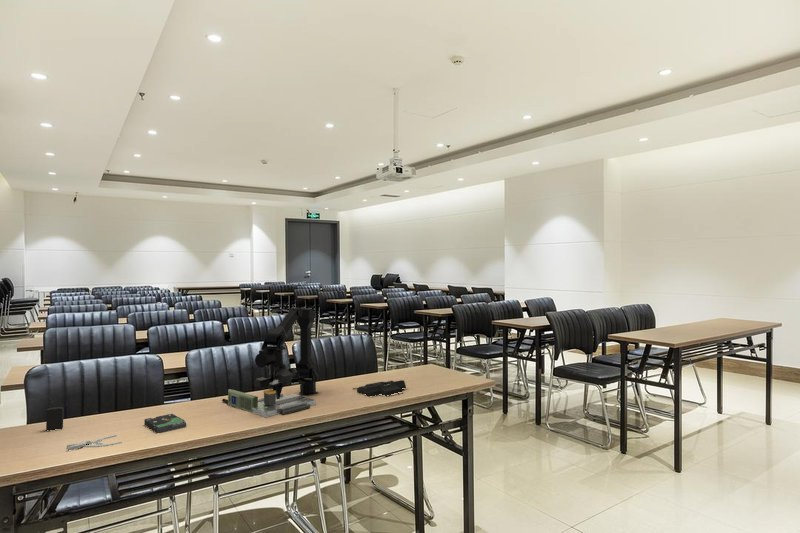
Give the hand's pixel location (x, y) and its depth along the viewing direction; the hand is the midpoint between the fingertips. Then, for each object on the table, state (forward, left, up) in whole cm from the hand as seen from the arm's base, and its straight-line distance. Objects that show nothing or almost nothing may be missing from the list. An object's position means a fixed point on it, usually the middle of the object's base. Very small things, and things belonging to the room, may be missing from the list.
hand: (278, 399), depth 204 cm
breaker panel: (-1, 0, -4) cm, 4 cm away
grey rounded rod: (-2, -9, -4) cm, 10 cm away
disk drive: (+41, -11, -4) cm, 43 cm away
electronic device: (-49, +8, -5) cm, 49 cm away
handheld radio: (+10, -14, -4) cm, 18 cm away
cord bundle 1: (-2, +9, -4) cm, 10 cm away
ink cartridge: (+71, -38, -4) cm, 80 cm away
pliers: (+65, -9, -4) cm, 66 cm away
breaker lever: (+4, 0, -1) cm, 4 cm away
